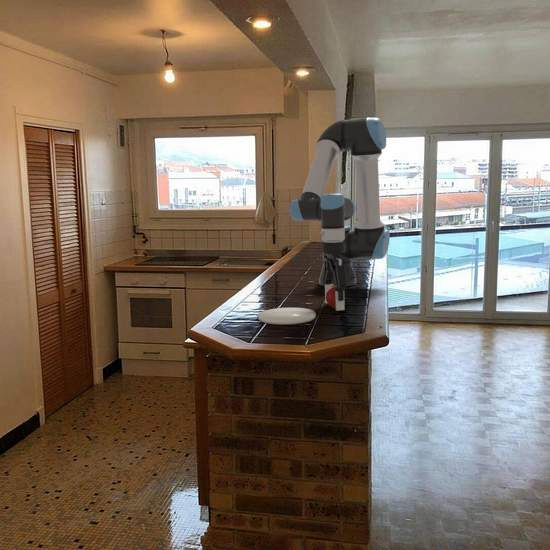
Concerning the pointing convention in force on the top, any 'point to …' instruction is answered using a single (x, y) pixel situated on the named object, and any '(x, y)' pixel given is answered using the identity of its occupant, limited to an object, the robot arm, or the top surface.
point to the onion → (331, 296)
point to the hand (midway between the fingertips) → (334, 306)
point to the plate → (287, 315)
